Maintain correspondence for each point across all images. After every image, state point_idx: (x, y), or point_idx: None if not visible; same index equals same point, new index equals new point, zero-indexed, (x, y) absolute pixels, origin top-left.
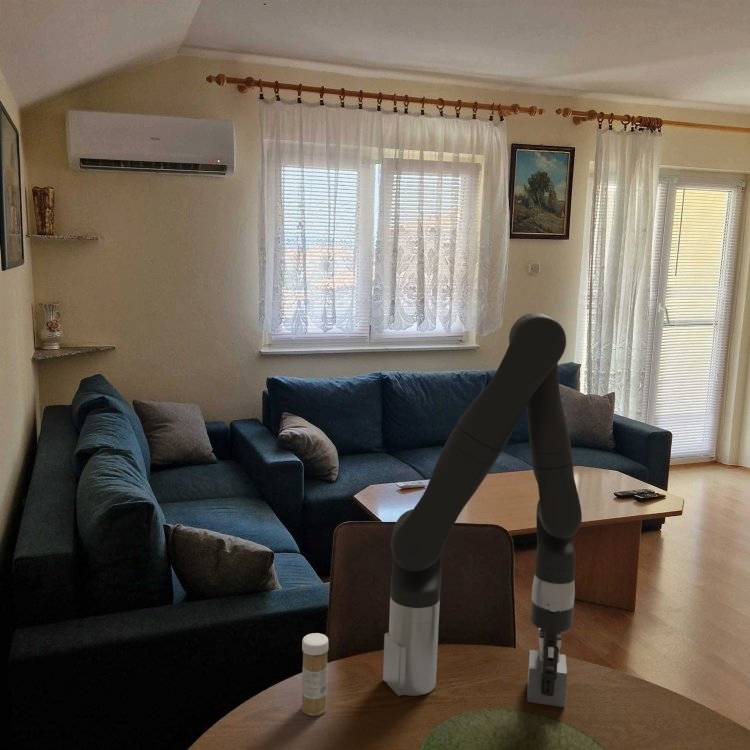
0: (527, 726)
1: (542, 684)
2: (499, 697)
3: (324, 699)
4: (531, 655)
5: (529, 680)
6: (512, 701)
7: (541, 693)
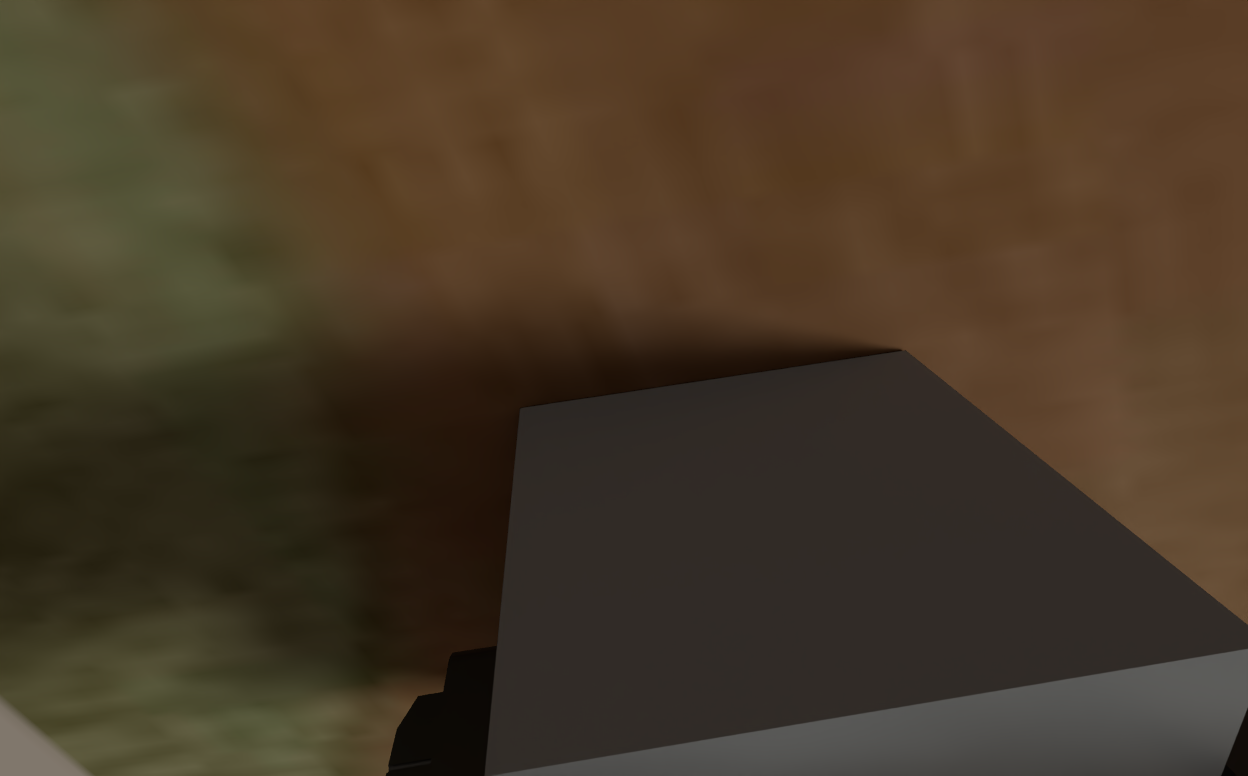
0: (79, 480)
1: (434, 769)
2: (457, 80)
3: None
4: (1032, 714)
5: (507, 587)
6: (450, 257)
7: (454, 653)
